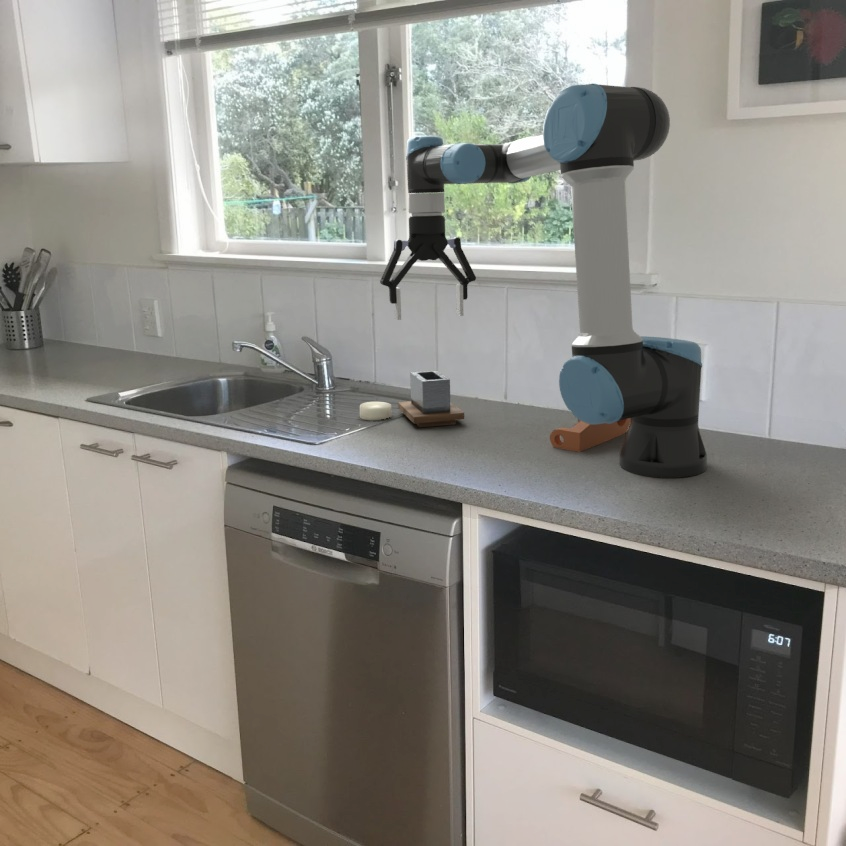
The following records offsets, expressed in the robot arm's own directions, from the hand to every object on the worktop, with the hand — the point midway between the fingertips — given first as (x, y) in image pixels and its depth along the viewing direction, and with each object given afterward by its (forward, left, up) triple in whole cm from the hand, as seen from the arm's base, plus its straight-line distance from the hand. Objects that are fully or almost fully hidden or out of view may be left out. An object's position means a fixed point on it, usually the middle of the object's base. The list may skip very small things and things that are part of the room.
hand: (429, 317), depth 195 cm
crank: (-24, -26, -23) cm, 42 cm away
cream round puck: (+6, +11, -23) cm, 26 cm away
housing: (0, 0, -20) cm, 20 cm away
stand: (0, 0, -23) cm, 23 cm away
